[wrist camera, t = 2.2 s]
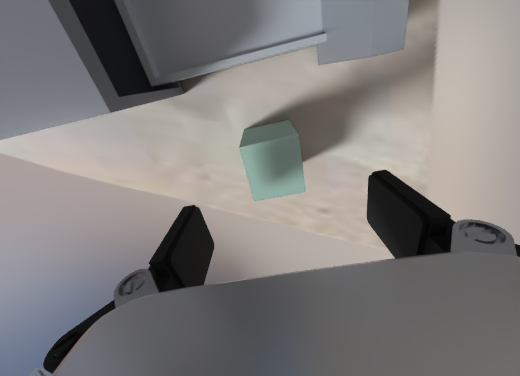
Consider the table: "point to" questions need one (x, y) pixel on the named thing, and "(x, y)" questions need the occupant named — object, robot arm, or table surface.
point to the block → (273, 160)
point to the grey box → (67, 64)
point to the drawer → (256, 32)
